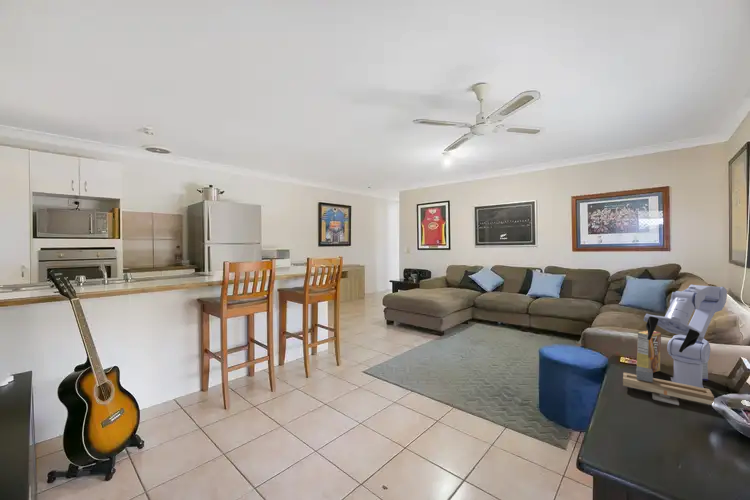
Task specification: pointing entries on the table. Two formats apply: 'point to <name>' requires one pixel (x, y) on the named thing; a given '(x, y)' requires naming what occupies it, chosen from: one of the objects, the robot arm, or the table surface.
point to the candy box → (649, 350)
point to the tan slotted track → (669, 390)
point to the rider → (644, 374)
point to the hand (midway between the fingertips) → (664, 343)
